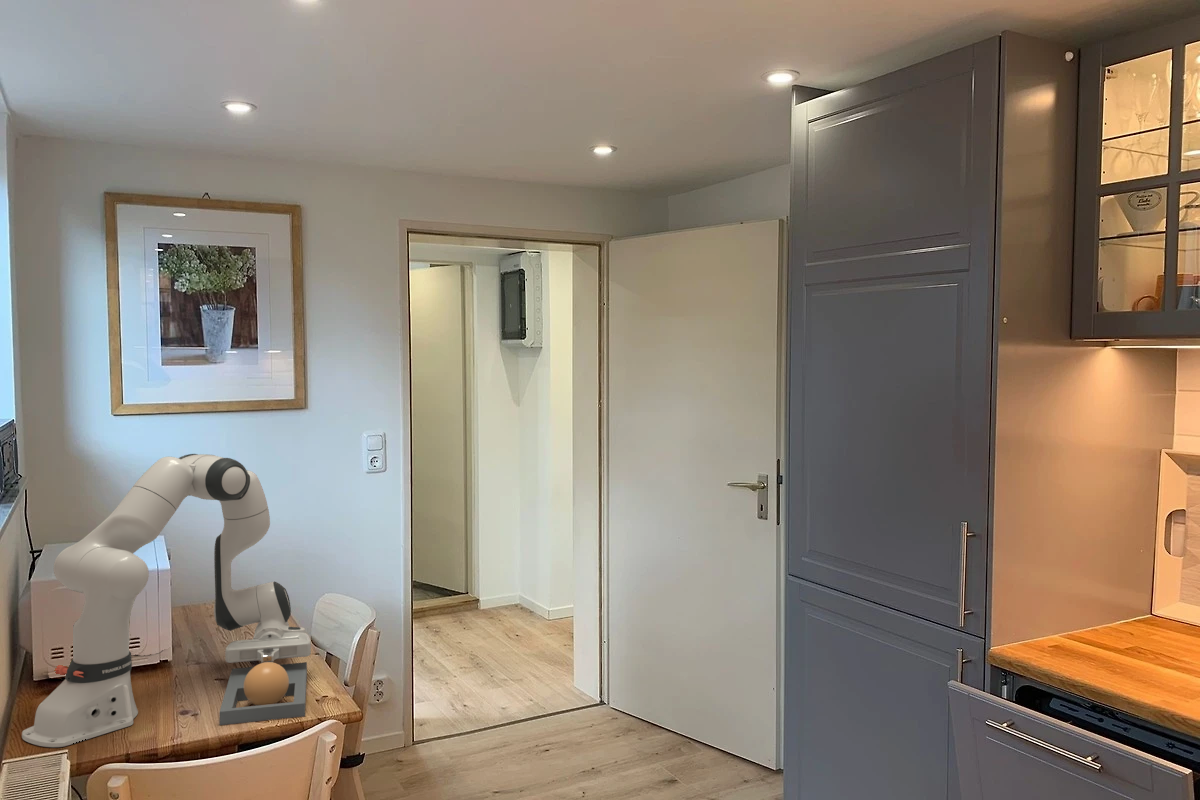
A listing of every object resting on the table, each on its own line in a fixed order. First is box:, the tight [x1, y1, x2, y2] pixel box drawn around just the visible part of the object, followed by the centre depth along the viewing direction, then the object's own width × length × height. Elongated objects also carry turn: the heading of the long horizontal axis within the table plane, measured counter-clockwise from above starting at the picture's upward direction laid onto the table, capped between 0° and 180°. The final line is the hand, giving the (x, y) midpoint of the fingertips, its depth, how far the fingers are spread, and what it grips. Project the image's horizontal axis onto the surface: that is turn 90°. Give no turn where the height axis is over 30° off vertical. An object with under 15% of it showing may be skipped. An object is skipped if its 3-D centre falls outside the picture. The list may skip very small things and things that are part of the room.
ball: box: [244, 662, 289, 706], centre depth 206 cm, size 10×10×10 cm
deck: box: [218, 661, 308, 726], centre depth 211 cm, size 29×18×3 cm, turn 18°
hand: (267, 659), depth 215 cm, fingers closed
